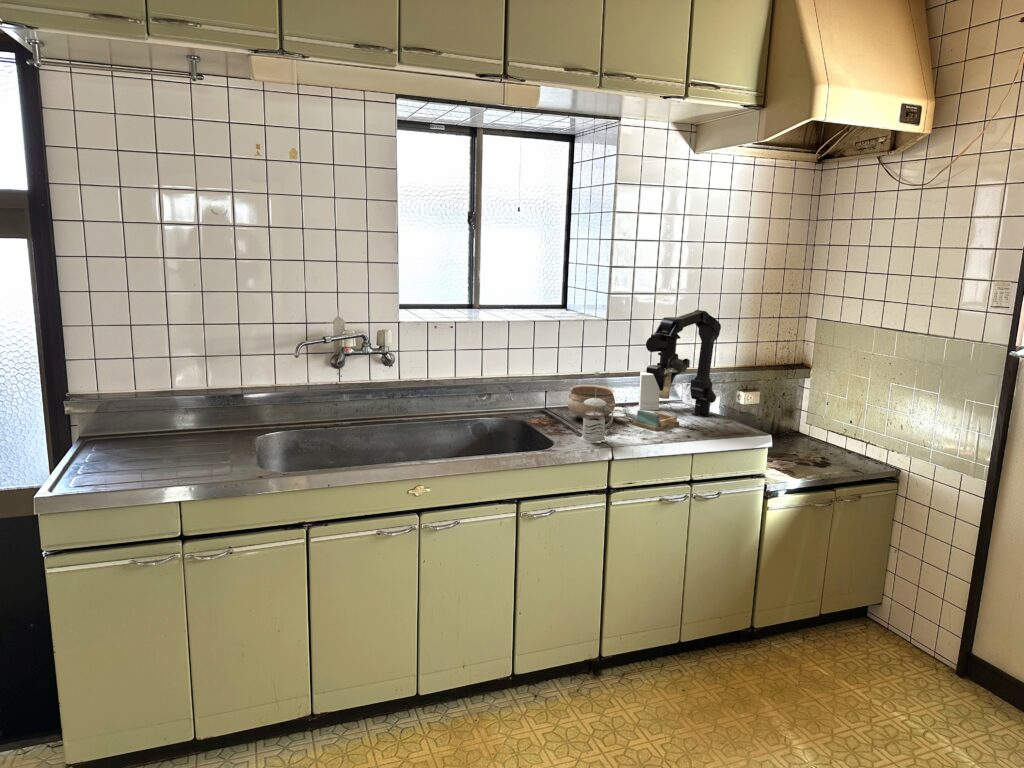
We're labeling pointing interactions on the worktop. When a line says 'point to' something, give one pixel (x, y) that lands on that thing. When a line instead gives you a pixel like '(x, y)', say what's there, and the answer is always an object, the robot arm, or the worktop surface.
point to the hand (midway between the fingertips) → (664, 390)
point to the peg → (666, 387)
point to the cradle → (654, 420)
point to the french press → (594, 434)
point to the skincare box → (648, 392)
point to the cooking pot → (587, 392)
